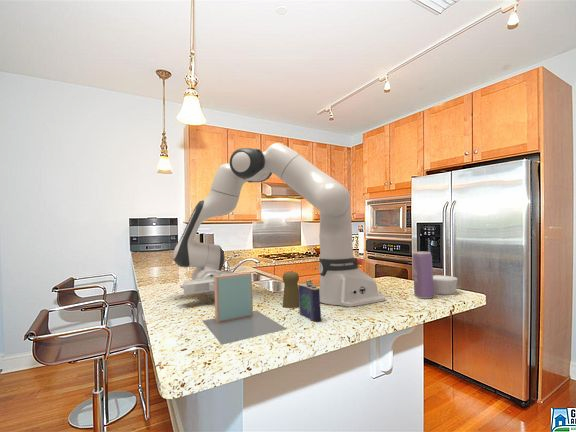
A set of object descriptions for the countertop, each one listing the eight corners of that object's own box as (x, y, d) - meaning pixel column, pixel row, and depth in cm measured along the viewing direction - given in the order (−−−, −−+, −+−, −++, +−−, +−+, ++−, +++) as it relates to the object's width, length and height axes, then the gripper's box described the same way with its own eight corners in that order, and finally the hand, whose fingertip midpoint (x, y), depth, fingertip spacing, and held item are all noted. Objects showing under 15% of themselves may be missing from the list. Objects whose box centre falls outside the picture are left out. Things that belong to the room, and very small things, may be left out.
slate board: (256, 312, 84) (256, 310, 84) (287, 331, 67) (287, 328, 67) (202, 322, 76) (202, 320, 76) (221, 347, 60) (221, 344, 60)
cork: (299, 310, 84) (298, 273, 85) (280, 309, 86) (279, 273, 86) (302, 304, 90) (301, 270, 91) (284, 304, 91) (283, 270, 92)
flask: (297, 315, 79) (296, 277, 80) (306, 314, 81) (305, 276, 81) (315, 325, 71) (313, 282, 71) (324, 323, 72) (323, 281, 73)
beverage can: (437, 298, 91) (434, 252, 92) (419, 299, 91) (416, 253, 92) (428, 294, 97) (426, 251, 98) (411, 295, 97) (409, 251, 98)
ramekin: (434, 287, 108) (433, 273, 108) (465, 292, 99) (464, 277, 99) (416, 291, 102) (416, 277, 102) (447, 297, 93) (446, 281, 93)
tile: (250, 314, 80) (248, 272, 81) (253, 316, 78) (251, 273, 79) (215, 320, 76) (214, 276, 76) (217, 323, 73) (216, 277, 74)
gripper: (179, 276, 97) (185, 282, 85) (236, 270, 107) (249, 274, 95) (179, 294, 97) (186, 303, 85) (236, 286, 107) (249, 293, 94)
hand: (220, 288), depth 90 cm, fingers closed
